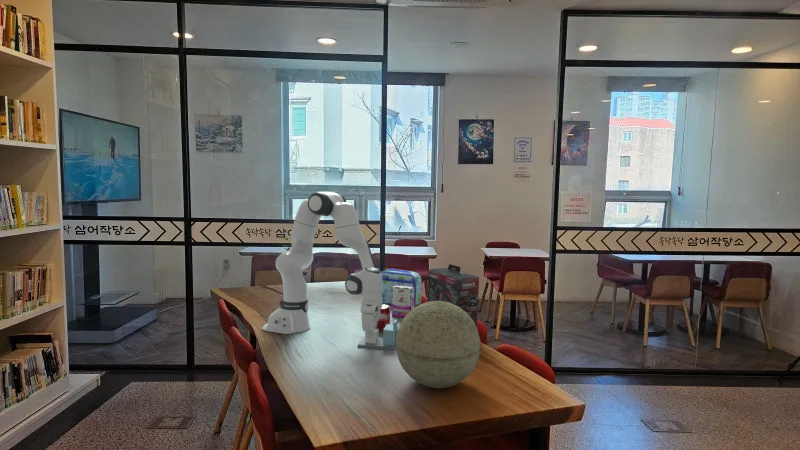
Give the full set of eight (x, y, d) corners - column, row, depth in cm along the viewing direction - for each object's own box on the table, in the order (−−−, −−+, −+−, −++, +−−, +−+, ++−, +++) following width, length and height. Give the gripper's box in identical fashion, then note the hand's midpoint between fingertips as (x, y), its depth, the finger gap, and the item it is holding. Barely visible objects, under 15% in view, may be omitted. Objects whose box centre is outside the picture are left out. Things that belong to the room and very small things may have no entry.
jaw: (364, 342, 202) (365, 331, 202) (367, 338, 207) (367, 328, 207) (375, 343, 201) (376, 332, 201) (378, 339, 206) (378, 328, 206)
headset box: (478, 338, 213) (480, 268, 210) (457, 343, 207) (459, 271, 204) (445, 324, 234) (447, 260, 231) (425, 328, 227) (427, 262, 224)
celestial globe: (417, 411, 145) (419, 318, 142) (382, 374, 172) (383, 295, 170) (496, 395, 157) (499, 309, 154) (452, 362, 184) (454, 289, 182)
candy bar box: (414, 316, 247) (414, 286, 245) (410, 319, 242) (411, 288, 241) (395, 314, 251) (395, 284, 249) (391, 316, 246) (391, 286, 245)
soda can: (388, 333, 219) (388, 308, 217) (373, 332, 220) (373, 307, 219) (391, 328, 226) (391, 304, 225) (377, 327, 227) (377, 303, 226)
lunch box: (375, 303, 272) (376, 268, 270) (385, 299, 281) (386, 265, 280) (413, 310, 259) (414, 273, 257) (422, 306, 268) (423, 271, 266)
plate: (357, 347, 200) (357, 335, 199) (363, 338, 211) (363, 327, 210) (393, 350, 197) (393, 338, 197) (398, 341, 208) (398, 330, 208)
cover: (383, 344, 199) (383, 323, 198) (386, 338, 207) (387, 317, 206) (394, 345, 198) (394, 323, 198) (397, 339, 206) (397, 318, 206)
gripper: (370, 298, 213) (370, 327, 215) (359, 310, 193) (359, 342, 195) (383, 298, 212) (383, 328, 214) (374, 311, 192) (373, 343, 194)
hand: (371, 334), depth 204 cm, fingers open, 8 cm apart
